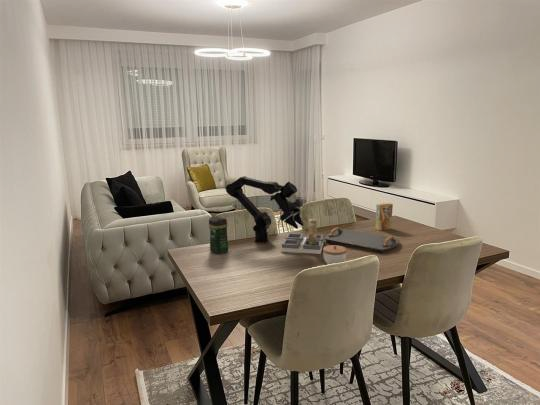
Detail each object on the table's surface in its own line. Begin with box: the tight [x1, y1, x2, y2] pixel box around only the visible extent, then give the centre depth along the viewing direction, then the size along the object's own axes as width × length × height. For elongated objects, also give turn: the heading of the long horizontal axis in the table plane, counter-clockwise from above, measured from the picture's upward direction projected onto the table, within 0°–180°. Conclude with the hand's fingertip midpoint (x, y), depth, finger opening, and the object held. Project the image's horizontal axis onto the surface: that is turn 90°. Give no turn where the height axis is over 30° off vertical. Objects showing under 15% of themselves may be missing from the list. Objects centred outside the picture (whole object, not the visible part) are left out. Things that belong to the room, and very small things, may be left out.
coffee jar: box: [208, 215, 229, 255], centre depth 211 cm, size 10×8×19 cm
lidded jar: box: [322, 244, 347, 265], centre depth 193 cm, size 11×11×9 cm
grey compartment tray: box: [280, 232, 325, 255], centre depth 219 cm, size 20×20×4 cm
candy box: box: [375, 202, 394, 231], centre depth 248 cm, size 9×4×15 cm, turn 111°
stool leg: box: [308, 218, 318, 245], centre depth 211 cm, size 4×4×14 cm
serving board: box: [324, 226, 400, 254], centre depth 224 cm, size 39×23×6 cm, turn 54°
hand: (300, 227), depth 218 cm, fingers open, 9 cm apart
